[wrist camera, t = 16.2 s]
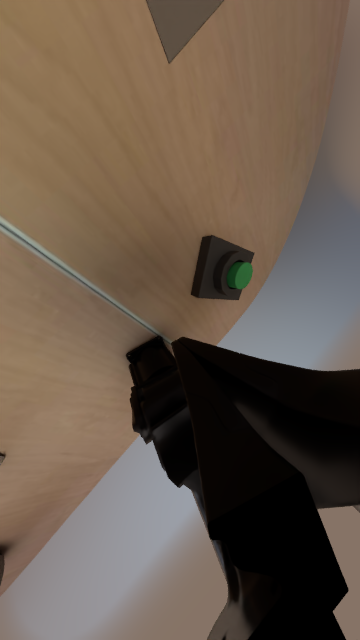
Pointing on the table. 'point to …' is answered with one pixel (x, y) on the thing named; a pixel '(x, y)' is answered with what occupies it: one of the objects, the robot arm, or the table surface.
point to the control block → (217, 268)
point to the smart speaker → (1, 567)
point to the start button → (239, 275)
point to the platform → (179, 21)
